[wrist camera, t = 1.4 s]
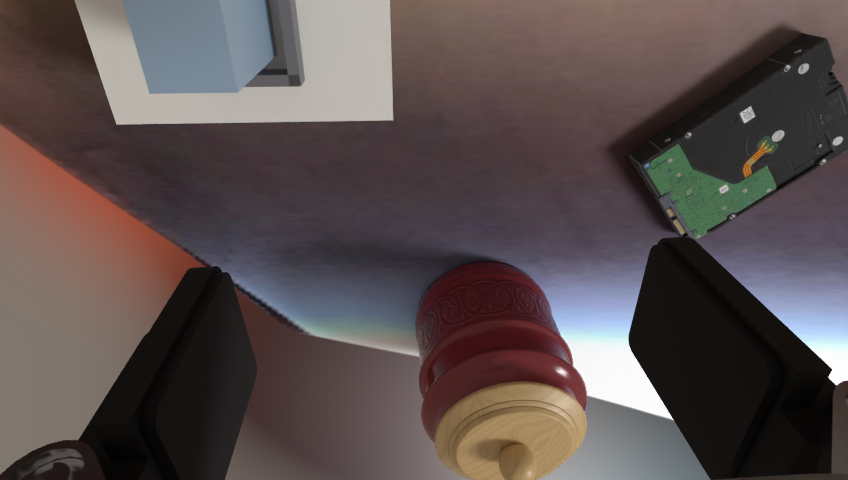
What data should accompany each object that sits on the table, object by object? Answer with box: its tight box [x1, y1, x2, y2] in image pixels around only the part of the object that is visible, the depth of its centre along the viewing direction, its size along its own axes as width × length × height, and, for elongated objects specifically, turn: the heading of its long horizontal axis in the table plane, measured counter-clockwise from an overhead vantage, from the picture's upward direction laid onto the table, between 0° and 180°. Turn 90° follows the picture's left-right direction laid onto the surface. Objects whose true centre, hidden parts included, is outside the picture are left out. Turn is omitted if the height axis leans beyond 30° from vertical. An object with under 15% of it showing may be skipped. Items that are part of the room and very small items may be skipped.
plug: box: [122, 0, 277, 94], centre depth 22 cm, size 4×4×8 cm
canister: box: [415, 262, 587, 480], centre depth 40 cm, size 13×13×18 cm
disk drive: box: [628, 34, 848, 239], centre depth 39 cm, size 10×3×15 cm
